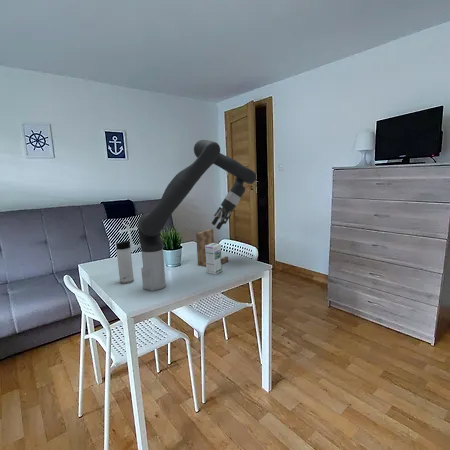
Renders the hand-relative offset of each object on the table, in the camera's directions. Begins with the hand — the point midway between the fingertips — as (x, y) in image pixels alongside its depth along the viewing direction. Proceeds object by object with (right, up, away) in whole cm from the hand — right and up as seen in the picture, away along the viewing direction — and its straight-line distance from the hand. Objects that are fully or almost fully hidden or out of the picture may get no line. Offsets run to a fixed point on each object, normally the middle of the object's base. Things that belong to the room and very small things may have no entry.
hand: (215, 226), depth 153 cm
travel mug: (-41, -26, -19) cm, 53 cm away
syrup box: (0, -23, -10) cm, 26 cm away
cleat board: (-1, -21, +4) cm, 21 cm away
